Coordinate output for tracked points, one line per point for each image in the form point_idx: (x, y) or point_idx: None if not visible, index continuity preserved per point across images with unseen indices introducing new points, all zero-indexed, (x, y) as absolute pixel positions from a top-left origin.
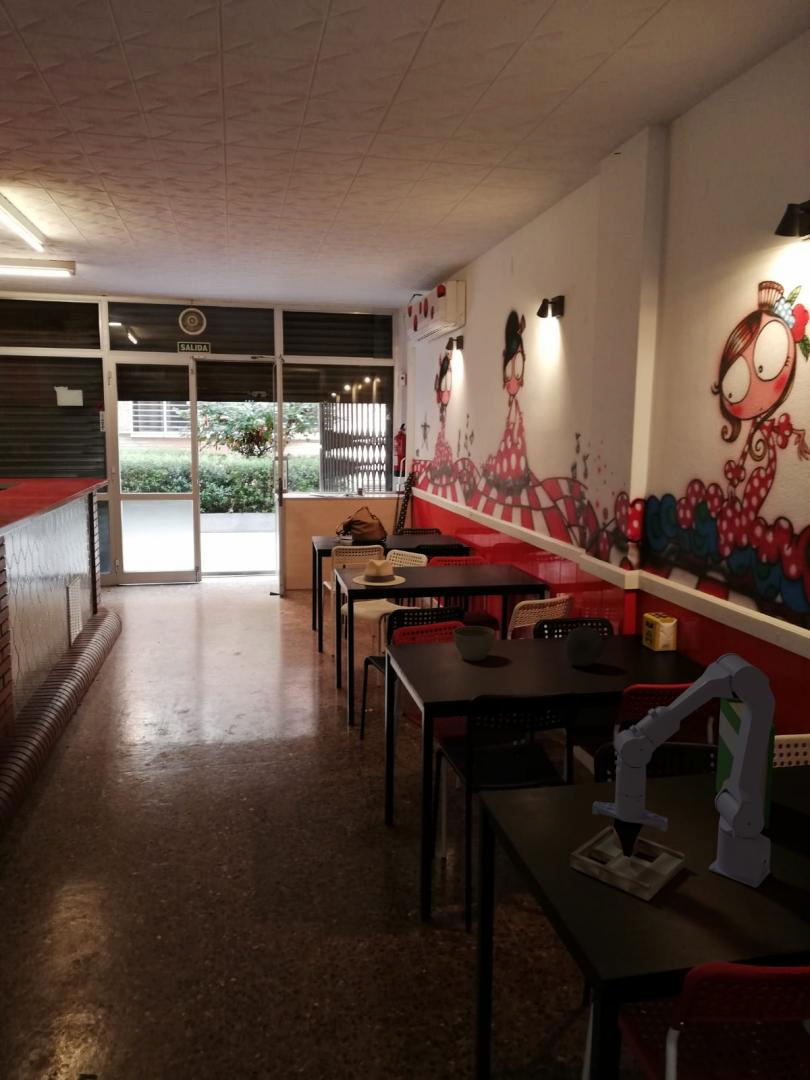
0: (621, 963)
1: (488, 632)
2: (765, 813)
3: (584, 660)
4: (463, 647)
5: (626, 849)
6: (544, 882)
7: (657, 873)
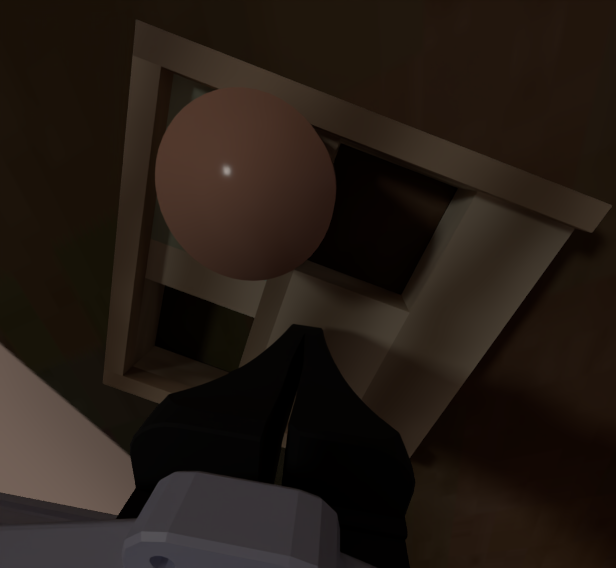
0: None
1: None
2: None
3: None
4: None
5: (295, 393)
6: (115, 437)
7: (432, 377)
